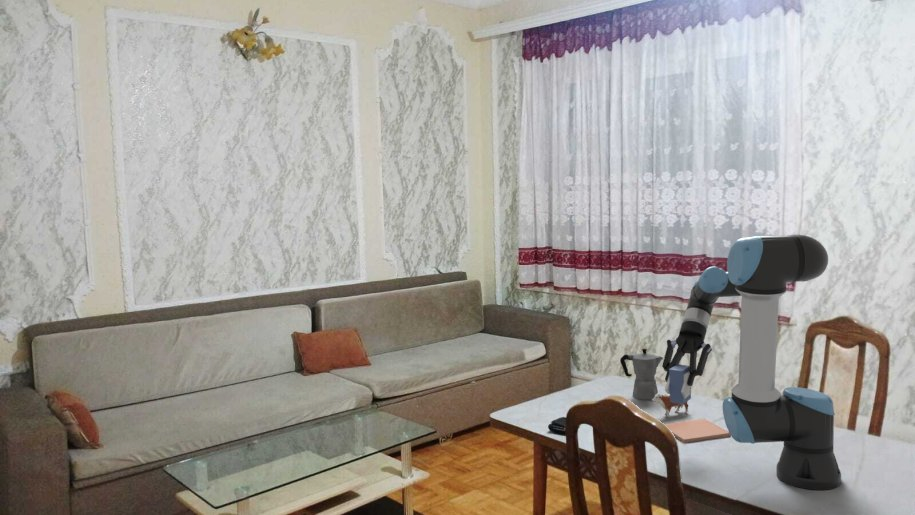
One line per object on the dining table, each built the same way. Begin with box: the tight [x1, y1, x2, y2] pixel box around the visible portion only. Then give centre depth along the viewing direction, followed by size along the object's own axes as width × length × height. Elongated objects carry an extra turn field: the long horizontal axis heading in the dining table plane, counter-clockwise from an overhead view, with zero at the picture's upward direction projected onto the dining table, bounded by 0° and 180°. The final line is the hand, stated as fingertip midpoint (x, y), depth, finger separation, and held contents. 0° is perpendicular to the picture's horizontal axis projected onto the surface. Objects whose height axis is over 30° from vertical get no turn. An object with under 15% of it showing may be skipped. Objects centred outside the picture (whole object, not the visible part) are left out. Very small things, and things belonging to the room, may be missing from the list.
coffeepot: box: [619, 348, 664, 401], centre depth 257 cm, size 15×9×18 cm, turn 75°
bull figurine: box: [651, 392, 689, 418], centre depth 236 cm, size 4×13×8 cm, turn 107°
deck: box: [669, 363, 692, 404], centre depth 206 cm, size 6×4×10 cm
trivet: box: [665, 418, 732, 444], centre depth 219 cm, size 14×16×1 cm
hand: (675, 393), depth 204 cm, fingers closed on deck, 4 cm apart
